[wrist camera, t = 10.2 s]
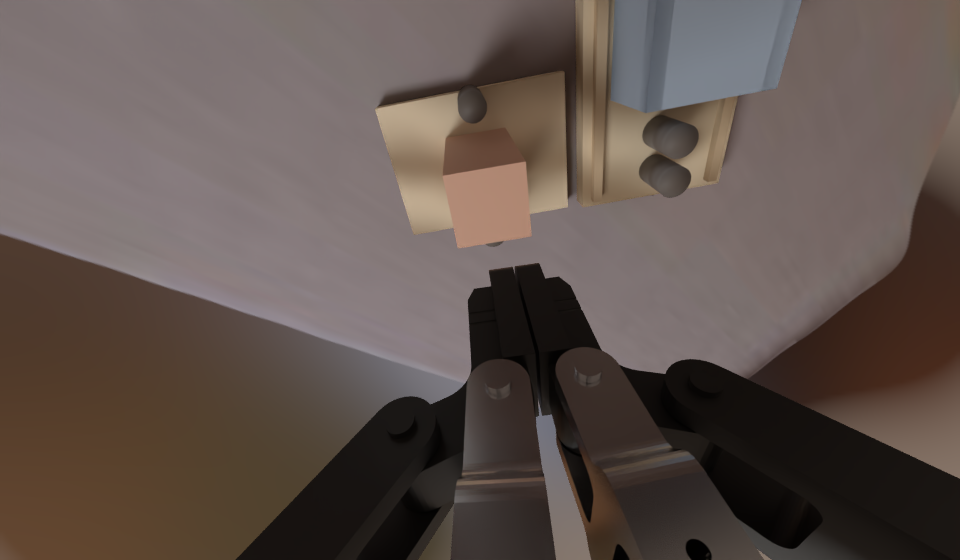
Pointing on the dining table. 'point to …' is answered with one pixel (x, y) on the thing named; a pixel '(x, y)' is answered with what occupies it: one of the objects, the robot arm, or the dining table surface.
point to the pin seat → (511, 104)
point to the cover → (697, 50)
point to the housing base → (637, 128)
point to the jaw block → (486, 188)
